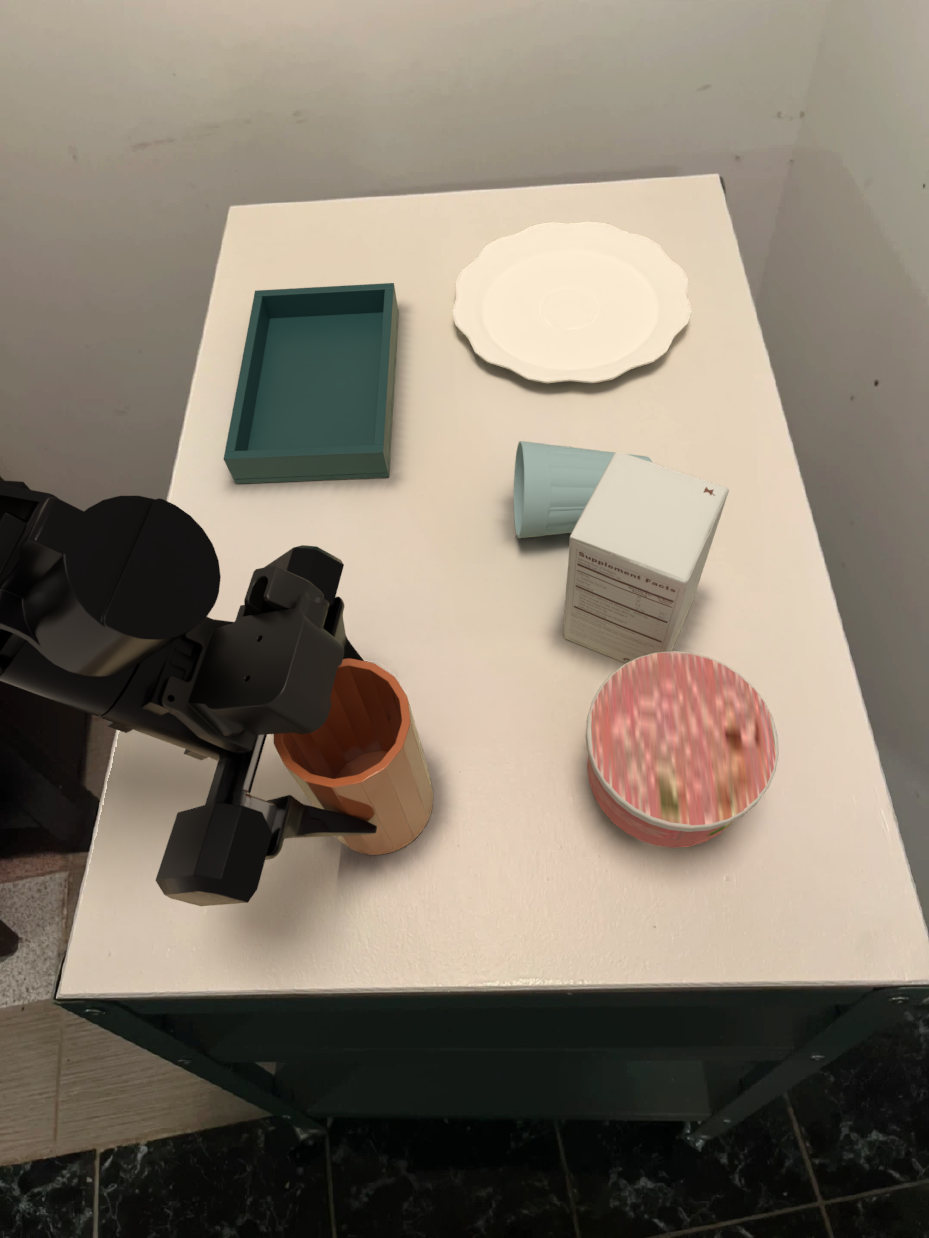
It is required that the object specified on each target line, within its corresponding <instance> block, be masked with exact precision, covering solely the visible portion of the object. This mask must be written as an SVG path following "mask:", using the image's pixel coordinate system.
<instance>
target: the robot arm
mask: <svg viewBox="0 0 929 1238" xmlns="http://www.w3.org/2000/svg"><path fill="white" fill-rule="evenodd" d="M344 567H345V564H344V563H343V561H342V559H341V558H339V557H337V556H335V555H333V554H331V553H329V552H328V551H326V550H324V549H323V548H320V547H319V546H315V545H304V544H301V545H298V546H294V547H292V548H290V549H289V550H287V551H285V553H283V554H282V555H280V556H279V557H277V558H276V559H274V560H272V561H271V562H270V563H268V564H267V565H265V566H264V567H260V568H255V569H254V570H253V572H252V576H251V578H250V581H249V585H248V588H247V590H246V594H245V597H244V600H243V604H240V606H239V609H238V611H237V614H236V616H235V617H236V618H235V620H234V621H231V620H222V619H214V618H211V617H208V616H209V615H210V613H211V611H212V610H213V608H214V607H215V605H216V603H217V600H218V598H219V594H220V587H221V577H222V576H221V568H220V561H219V558H218V555H217V552H216V550H215V547H214V544H213V542H212V541H211V539H210V538H209V536H208V534H207V533H206V531H205V529H204V528H203V527H201V525H200V524H199V523H198V522H197V521H196V520H195V518H193V517H192V516H191V515H190V514H188V513H187V512H186V511H184V510H183V509H181V508H180V507H179V506H178V505H176V504H174V503H172V502H169V501H167V500H165V499H163V498H152V497H147V496H143V495H117V496H113V497H110V498H105V499H102V500H100V501H99V502H97V503H95V504H93V505H90V506H89V507H87V508H86V509H85V510H83V509H80V508H78V507H76V506H74V505H72V504H70V503H69V502H66V501H65V500H62V499H60V498H59V497H58V496H56V495H54V494H52V493H49V492H44V491H41V490H33V489H31V488H30V487H29V486H28V485H27V484H26V483H25V482H24V481H18V480H5V479H4V480H3V479H1V480H0V682H3V683H5V684H8V685H11V686H14V687H17V688H18V689H22V690H25V691H27V692H30V693H32V694H35V695H38V696H41V697H43V698H46V699H49V700H51V701H54V702H57V703H59V704H62V705H65V706H68V707H71V708H73V709H76V710H79V711H81V712H84V713H87V714H90V715H93V716H95V717H97V718H100V719H102V720H105V721H108V722H107V725H106V727H108V728H111V729H114V730H116V731H119V732H122V733H124V734H128V733H130V732H132V731H135V732H138V733H141V734H143V735H146V736H149V737H151V738H154V739H157V740H160V741H163V742H165V743H168V744H171V745H173V746H176V747H179V748H181V749H184V751H183V755H185V756H188V757H191V758H193V759H197V760H198V761H203V760H207V759H211V760H214V761H217V764H216V768H215V771H214V774H213V777H212V780H211V783H210V786H209V790H208V794H207V797H206V800H205V803H204V804H202V805H200V806H196V807H191V808H188V809H185V810H181V811H178V812H177V813H176V816H175V819H174V822H173V825H172V828H171V832H170V834H169V838H168V841H167V844H166V847H165V850H164V853H163V856H162V859H161V862H160V865H159V868H158V871H157V874H156V877H155V880H154V881H155V883H156V885H158V887H159V889H160V891H161V892H162V894H163V895H164V896H165V897H168V898H169V899H171V900H175V901H179V902H183V903H186V904H191V905H194V906H198V907H209V906H211V907H212V906H221V905H222V906H223V905H224V906H225V905H236V904H247V903H248V904H249V903H250V901H251V900H252V898H253V897H254V895H255V893H256V892H257V891H258V889H259V884H260V881H261V877H262V873H263V870H264V866H265V862H266V861H269V860H273V859H275V858H276V857H277V856H278V855H279V854H280V853H281V851H282V849H283V846H284V842H285V840H286V839H297V838H298V839H300V838H324V837H325V838H327V837H336V836H352V835H369V834H375V833H376V831H377V826H376V825H374V824H372V823H369V822H367V821H365V820H362V819H360V818H357V817H353V816H349V815H345V814H341V813H337V812H333V811H329V810H324V809H320V808H316V807H314V806H313V805H309V804H304V803H303V802H301V801H299V800H298V799H297V798H296V797H295V796H293V795H291V794H286V795H283V796H279V797H275V798H271V799H267V800H265V799H262V798H260V797H257V796H254V795H253V794H251V793H252V788H253V785H254V781H255V777H256V774H257V771H258V767H259V764H260V761H261V757H262V753H263V750H264V747H265V744H266V739H267V736H268V735H273V734H281V733H298V734H308V733H312V732H314V731H316V730H317V729H319V728H320V727H321V726H322V725H323V724H324V723H325V721H326V719H327V717H328V715H329V712H330V708H331V700H330V696H331V692H332V688H333V684H334V680H335V676H336V672H337V668H338V667H339V666H340V665H341V664H342V661H343V659H348V658H349V659H350V658H351V659H356V660H361V661H365V660H364V659H363V658H362V656H361V655H360V654H359V652H358V651H357V650H356V648H355V647H354V645H353V644H352V643H351V642H350V640H349V639H348V637H347V634H346V627H345V622H344V611H345V603H344V600H343V598H342V597H340V596H337V592H338V589H339V585H340V582H341V579H342V574H343V570H344Z"/></svg>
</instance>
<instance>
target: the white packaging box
mask: <svg viewBox="0 0 929 1238" xmlns="http://www.w3.org/2000/svg"><path fill="white" fill-rule="evenodd" d="M628 454H629V453H624V452H621V451H615V454H614V456H613V457H612V459H611V461H610V462H609V464H608V466H607V468H606V470H605V471H604V473H603V475H602V477H601V479H600V481H599V483H598V484H597V486H596V488H595V490H594V492H593V494H592V495H591V497H590V499H589V501H588V503H587V505H586V507H585V509H584V510H583V512H582V514H581V516H580V518H579V520H578V522H577V524H576V526H575V527H574V529H573V531H572V533H570V536H569V545H568V558H567V559H568V560H567V573H566V584H565V601H564V603H565V604H564V614H563V615H564V618H563V635H562V636H563V638H564V639H567V640H568V641H571V642H573V643H575V644H577V645H580V646H583V647H585V648H588V649H590V650H592V651H594V652H598V653H600V654H602V655H604V656H607V657H609V658H612V659H614V660H617V661H619V662H621V663H624V664H626V663H628V662H630V661H632V660H634V659H636V658H638V657H641V656H645V655H649V654H652V653H657V652H669V651H673V649H674V646H675V644H676V642H677V640H678V638H679V635H680V633H681V631H682V629H683V626H684V624H685V621H686V619H687V617H688V614H689V612H690V609H691V607H692V604H693V602H694V599H695V597H696V593H697V590H698V587H699V584H700V581H701V578H702V575H703V572H704V569H705V566H706V562H707V560H708V557H709V553H710V551H711V547H712V544H713V542H714V541H713V540H714V538H715V535H716V532H717V529H718V526H719V522H720V519H721V516H722V513H723V510H724V507H725V503H726V502H727V498H728V495H729V492H730V489H729V487H726V486H723V485H720V484H717V483H714V482H712V481H709V480H706V479H704V478H701V477H698V476H694V475H691V474H688V473H685V472H683V471H679V470H677V469H673V468H669V467H666V466H664V465H661V464H658V463H655V462H653V461H652V462H649V461H646V460H643V459H640V458H637V457H634V456H631V455H628Z"/></svg>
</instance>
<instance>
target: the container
mask: <svg viewBox="0 0 929 1238" xmlns="http://www.w3.org/2000/svg"><path fill="white" fill-rule="evenodd" d="M586 718H587V719H586V725H585V726H586V727H585V743H586V744H585V745H586V750H587V762H586V763H587V764H586V765H587V766H586V768H587V777H588V783H589V786H590V789H591V792H592V795H593V797H594V799H595V801H596V802H597V803H598V806H599V807H600V809H601V811H602V812H603V813H604V814H605V815H606V817H608V819H609V820H610V821H611V822H612V823H613V824H614V825H615V826H617V827H618V828H619V829H621V830H622V831H623V832H624V833H625V834H627V835H629V836H631V837H633V838H635V839H636V840H639V841H641V842H644V843H646V844H650V845H653V846H656V847H664V848H673V849H675V848H687V847H688V848H689V847H693V846H695V845H699V844H703V843H706V842H708V841H710V840H712V839H714V838H716V837H718V836H719V835H720V834H721V833H723V832H724V831H725V830H726V829H727V828H729V826H731V824H733V823H734V822H735V821H736V820H738V819H741V818H742V817H744V816H745V815H746V814H747V813H748V812H749V811H751V810H752V809H753V808H754V807H755V806H756V805H758V803H759V802H760V800H761V799H762V798H763V796H764V795H765V793H766V792H767V791H768V789H769V788H770V786H771V783H772V781H773V779H774V777H775V774H776V771H777V767H778V760H779V754H780V751H779V735H778V731H777V728H776V724H775V720H774V716H773V715H772V712H771V711H770V709H769V707H768V705H767V702H766V701H765V700H764V698H763V697H762V696H761V695H760V693H759V692H758V691H757V689H756V687H754V686H753V684H751V683H750V682H749V681H748V680H747V678H745V677H744V676H743V675H741V674H740V673H739V672H737V671H736V670H734V669H732V668H731V667H730V666H728V665H727V664H725V663H722V662H720V661H718V660H716V659H713V658H711V657H709V656H705V655H702V654H698V653H693V652H687V651H678V650H677V651H675V650H672V651H669V652H657V653H652V654H649V655H645V656H641V657H638V658H636V659H634V660H632V661H630V662H628V663H624V664H623V665H621V666H620V667H618V668H617V669H615V670H614V671H613V672H611V674H609V676H608V677H607V678H606V679H605V680H604V681H603V683H602V684H601V685H600V686H599V688H598V689H597V692H596V693H595V695H594V697H593V699H592V700H591V703H590V707H589V711H588V713H587V717H586Z"/></svg>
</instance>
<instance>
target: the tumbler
mask: <svg viewBox="0 0 929 1238" xmlns="http://www.w3.org/2000/svg"><path fill="white" fill-rule="evenodd" d="M330 700H331V708H330V712H329V715H328V717H327V719H326V721H325V723H324V724H323V725H322V726H321V727H320V728H319V729H317V730H316V731H314V732H312V733H308V734H298V733H281V734H272V737H273V746H274V747H275V750H276V751H277V753H278V756H279V758H280V759H281V761H282V763H283V765H284V767H285V768H286V769H287V771H288V773H289V774H290V775H291V777H292V778H293V779H294V781H295V783H296V784H297V785H298V787H299V788H300V789H301V791H302V792H303V793H304V795H305V796H306V798H307V800H308V801H309V802H310V803H311V806H312V807H316V808H320V809H324V810H329V811H333V812H337V813H341V814H345V815H349V816H353V817H357V818H360V819H362V820H365V821H367V822H369V823H372V824H374V825H376V826H377V831H376V833H375V834H369V835H352V836H335V838H337V840H338V841H339V842H340V843H341V844H343V845H344V846H345V847H347V848H348V849H350V850H352V851H354V852H357V853H360V854H362V855H363V854H364V855H369V856H371V855H373V856H379V855H386V854H390V853H393V852H396V851H399V850H401V849H404V848H405V847H407V846H408V845H410V844H411V843H412V842H413V841H415V840H416V839H417V838H418V836H420V834H421V833H422V832H423V830H424V829H425V827H426V826H427V824H428V821H430V818H431V815H432V811H433V807H434V789H433V786H432V780H431V775H430V771H429V768H428V765H427V761H426V758H425V755H424V751H423V747H422V744H421V739H420V737H419V733H418V729H417V726H416V722H415V718H414V715H413V712H412V709H411V705H410V700H409V697H408V695H407V693H406V692H405V690H404V689H403V688H402V686H401V684H400V682H399V681H398V680H397V678H396V677H395V676H394V675H393V674H391V673H390V672H388V671H387V670H385V668H383V667H381V666H379V665H378V664H377V663H375V662H370V661H365V660H364V661H361V660H356V659H351V658H350V659H349V658H348V659H343V661H342V664H341V665H340V666H339V667H338V668H337V672H336V676H335V680H334V684H333V688H332V692H331V696H330Z"/></svg>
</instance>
